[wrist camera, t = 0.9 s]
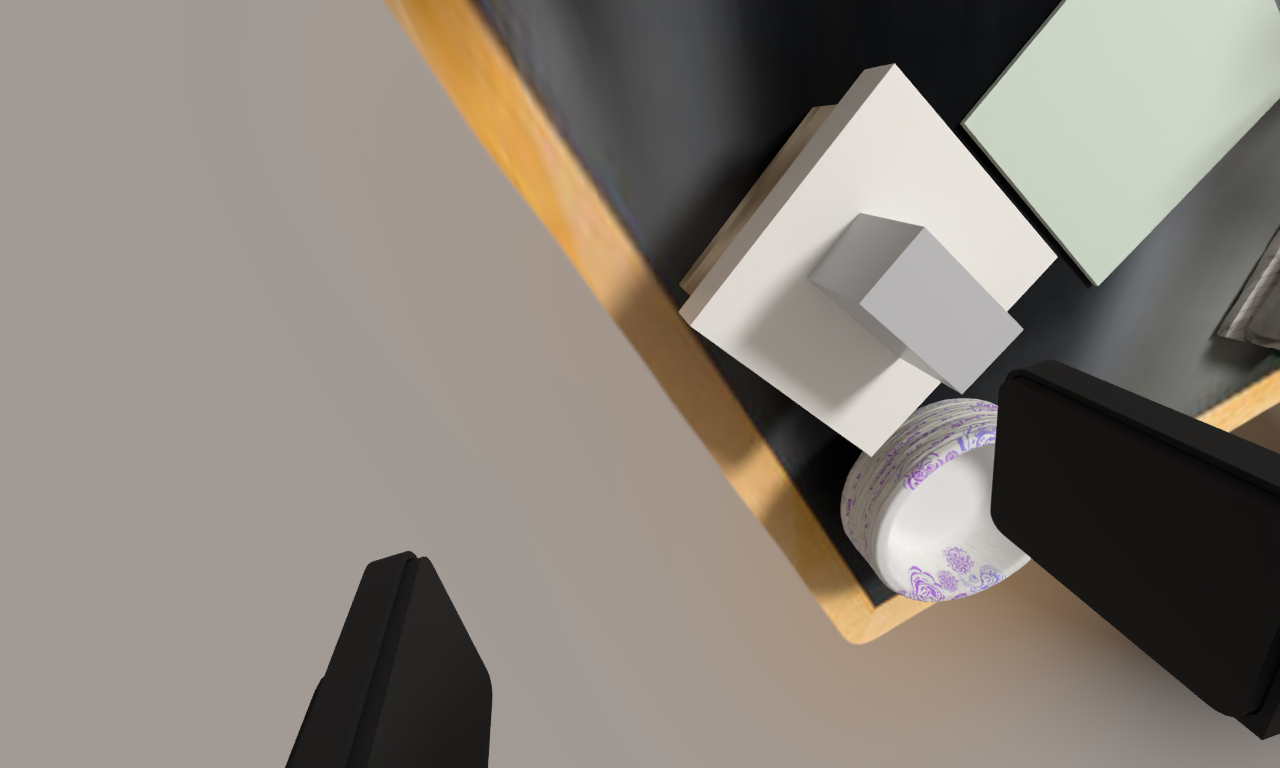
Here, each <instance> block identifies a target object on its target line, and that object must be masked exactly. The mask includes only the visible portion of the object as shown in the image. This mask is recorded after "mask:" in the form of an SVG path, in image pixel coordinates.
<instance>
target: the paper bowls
mask: <svg viewBox="0 0 1280 768" xmlns="http://www.w3.org/2000/svg"><path fill="white" fill-rule="evenodd" d="M997 411H998V406H997V405H995V404H992V403H990V402H987V401H983V400H978V399H965V398H959V399H948V400H943V401H939V402H935V403H933V404H929V405H927V406H924V407H921V408H919V409H917V410H915V411H914V412H913V413H912V414H911V415H910V416H909V417H908V418H907V419H906V420H905V421H904V423H903V424H902V425H901V426H900V427H899V428H898V429H897V430H896V431H895V432H894V433H893V434H892V435H891V436H890V438H889V439H888V440H887V441H886V442H885V443H884V444H883V445H882V446H881V447H880V448H879V449H878V450H877V452H876V453H875V454H874V455H873V456H872V457H871V456H870V455H868V454H867V453H865V452H864V451H862V453H861V454H860V456H859V457H858V459H857V461H856V462H855V464H854V465H853V467H852V469H851V470H850V472H849V475H848V477H847V480H846V482H845V485H844V489H843V492H842V497H841V519H842V524H843V528H844V531H845V533H846V535H847V536H848V538H849V539H850V541H851V542H852V543H853V545H854V546H855V547H856V549H857V550H858V551H859V552H860V553H861V555H862V556H863V557H864V558H865V560H866V561H867V562H868V563H869V565H870V566H871V567H872V569H873V570H874V572H875V573H876V574H877V575H878V577H879V578H880V579H881V580H882V581H883V583H884V584H885V585H886V586H887V587H889V588H890V589H891V590H893V591H894V592H897V593H898V594H900V595H902V596H905V597H907V598H911V599H914V600H919V601H924V602H928V601H930V602H935V601H947V600H953V599H959V598H963V597H966V596H970V595H972V594H975V593H978V592H980V591H983V590H985V589H987V588H989V587H991V586H993V585H995V584H997V583H999V582H1001V581H1002V580H1004V579H1005V578H1007V577H1008V576H1010V575H1011V574H1012V573H1014V572H1016V571H1017V570H1019V569H1020V568H1021V567H1022V566H1023V565H1025V564H1026V563H1027V562H1028V561H1029V560H1030V559H1031V558H1030V557H1029V556H1028V555H1027V554H1026V553H1024V552H1023V551H1022V550H1021V549H1020V548H1018V547H1017V546H1016V545H1015V544H1014V543H1012V542H1011V541H1010V540H1009V539H1007V538H1006V537H1005V536H1004V535H1003V534H1002V533H1001V532H1000V531H999V530H998V529H997V528H996V526H995V525H994V523H993V521H992V518H991V514H990V507H991V493H992V479H993V466H994V452H995V438H996V425H997Z"/></svg>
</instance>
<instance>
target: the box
mask: <svg viewBox="0 0 1280 768" xmlns="http://www.w3.org/2000/svg"><path fill="white" fill-rule="evenodd" d="M836 106H837V105H830V106H821V107H813V108H812V109H811V110H810V112H809V113H808V114H807V116H806V117H805V118H804V120H803V121H802V122H801V124H800V125H799V126H798V127H797V129H796V130H795V131H794V133H793V134H792V135H791V137H790V138H789V139H788V141H787V142H786V143H785V145H784V146H783V147H782V149H781V150H780V151H779V153H778V154H777V155H776V157H775V158H774V159H773V160H772V162H771V163H770V164H769V166H768V167H767V168H766V170H765V171H764V172H763V174H762V175H761V176H760V178H759V179H758V180H757V182H756V183H755V184H754V186H753V187H752V188H751V190H750V191H749V192H748V193H747V195H746V196H745V197H744V199H743V200H742V201H741V203H740V204H739V205H738V207H737V208H736V209H735V211H734V212H733V213H732V215H731V216H730V217H729V219H728V220H727V221H726V222H725V224H724V225H723V226H722V228H721V229H720V230H719V232H718V233H717V234H716V236H715V237H714V238H713V240H712V241H711V242H710V244H709V245H708V246H707V248H706V249H705V250H704V252H703V253H702V254H701V255H700V257H699V258H698V259H697V261H696V262H695V263H694V265H693V266H692V267H691V269H690V270H689V271H688V273H687V274H686V275H685V277H684V278H683V279H682V281H681V282H680V283H679V285H680V286H681V287H682V288H683V289H684V290H685V291H686V292H687V293H688V294H689V295H690V296H691V295H692V294H693V292H694V291H695V290H696V288H697V287H698V286H699V284H700V283H701V282H702V281H703V279H704V278H705V277H706V275H707V274H708V273H709V271H710V270H711V269H712V268H713V266H714V265H715V264H716V262H717V261H718V260H719V258H720V257H721V256H722V255H723V253H724V252H725V251H726V249H727V248H728V247H729V245H730V244H731V243H732V241H733V240H734V239H735V238H736V236H737V235H738V234H739V232H740V231H741V230H742V228H743V227H744V226H745V225H746V223H747V222H748V221H749V219H750V218H751V217H752V215H753V214H754V213H755V212H756V210H757V209H758V208H759V206H760V205H761V204H762V202H763V201H764V200H765V199H766V197H767V196H768V195H769V193H770V192H771V191H772V189H773V188H774V187H775V186H776V184H777V183H778V182H779V180H780V179H781V178H782V176H783V175H784V174H785V173H786V171H787V170H788V169H789V167H790V166H791V165H792V163H793V162H794V161H795V159H796V158H797V157H798V156H799V154H800V153H801V152H802V150H803V149H804V148H805V146H806V145H807V144H808V143H809V141H810V140H811V139H812V137H813V136H814V135H815V133H816V132H817V131H818V130H819V128H820V127H821V126H822V124H823V123H824V122H825V120H826V119H827V118H828V117H829V115H830V114H831V113H832V111H833V110H834V109H835V107H836Z"/></svg>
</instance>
